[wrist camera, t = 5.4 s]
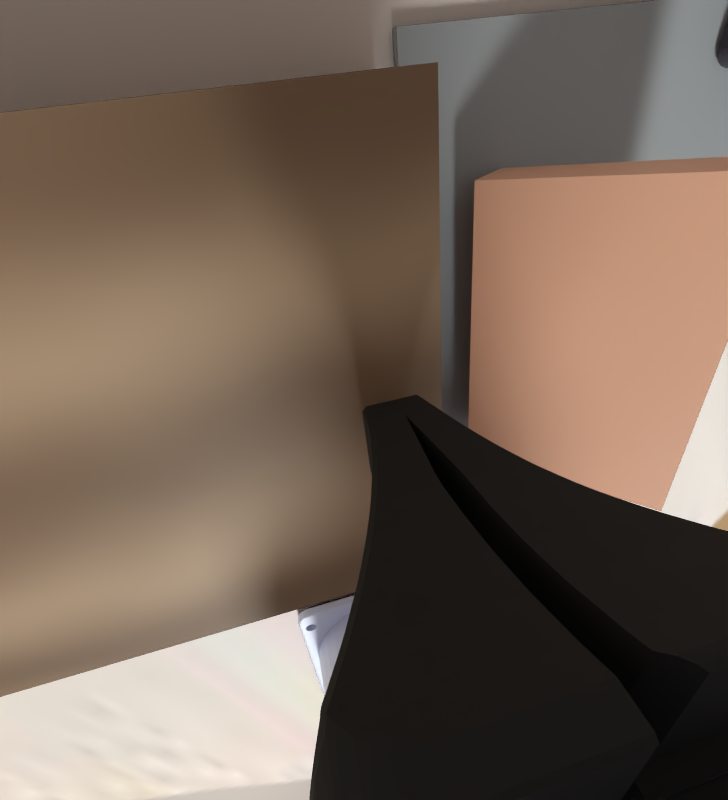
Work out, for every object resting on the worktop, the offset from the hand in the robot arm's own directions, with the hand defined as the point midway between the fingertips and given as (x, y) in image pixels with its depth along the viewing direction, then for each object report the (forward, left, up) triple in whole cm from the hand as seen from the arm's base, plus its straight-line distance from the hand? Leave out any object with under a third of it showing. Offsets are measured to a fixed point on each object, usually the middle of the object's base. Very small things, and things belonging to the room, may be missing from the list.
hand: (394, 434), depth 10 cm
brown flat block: (0, +6, -5) cm, 8 cm away
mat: (0, -8, -5) cm, 9 cm away
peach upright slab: (0, -5, -1) cm, 6 cm away
